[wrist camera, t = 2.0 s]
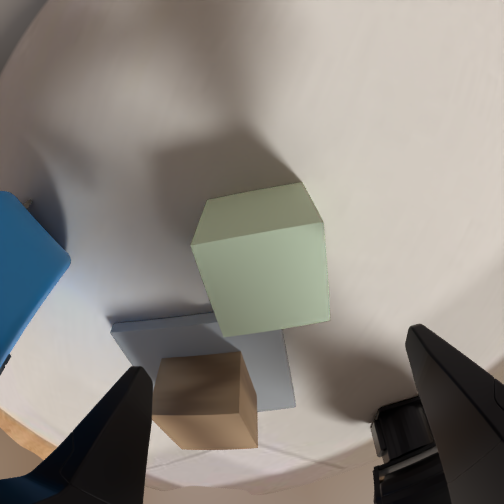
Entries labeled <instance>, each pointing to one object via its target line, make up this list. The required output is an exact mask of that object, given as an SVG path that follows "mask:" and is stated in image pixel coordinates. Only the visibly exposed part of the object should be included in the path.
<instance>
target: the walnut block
mask: <svg viewBox="0 0 504 504" xmlns="http://www.w3.org/2000/svg"><path fill="white" fill-rule="evenodd" d="M152 420H153V421H154V422H155V423H156V424H157V425H158V426H159V427H160V428H161V429H162V430H163V431H164V432H165V433H166V434H167V435H168V436H169V437H170V438H171V439H172V440H173V441H174V442H175V443H176V444H177V445H178V446H179V447H180V448H181V449H187V450H228V449H249V448H258V429H257V394H256V391H255V389H254V386H253V383H252V381H251V378H250V375H249V372H248V370H247V367H246V364H245V361H244V359H243V356H242V353H241V351H237V352H228V353H219V354H209V355H198V356H186V357H171V358H162V359H161V362H160V366H159V370H158V374H157V378H156V382H155V386H154V390H153V402H152Z"/></svg>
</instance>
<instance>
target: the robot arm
mask: <svg viewBox="0 0 504 504" xmlns="http://www.w3.org/2000/svg"><path fill="white" fill-rule="evenodd" d="M405 347H406V351H407V355H408V358H409V362H410V366H411V369H412V373H413V377H414V381H415V384H416V388H417V391H418V394H419V397H416V398H413V399H410V400H406V401H403V402H400V403H397V404H393V405H390V406H386V407H383V408H380V409H379V410H378V413H377V416H376V419H375V421H374V422H373V425H372V428H371V432H372V436H373V440H374V444H375V449H376V453H377V456H378V457H382V458H383V461H384V464H382V465H380V466H375V467H374V470H373V476H374V504H504V384H502V383H501V382H500V381H498V380H497V379H494V377H493V376H492V375H490V374H489V373H488V372H486V371H485V370H484V369H482V368H481V367H480V366H479V365H477V364H476V363H475V362H473V361H472V360H471V359H469V358H468V357H467V356H465V355H464V354H462V353H461V352H460V351H458V350H457V349H456V348H454V347H453V346H452V345H450V344H449V343H447V342H446V341H445V340H443V339H442V338H441V337H439V336H438V335H436V334H435V333H434V332H432V331H431V330H429V329H428V328H427V327H425V326H424V325H422V324H416V325H412V326H410V327H409V329H408V334H407V338H406V343H405ZM152 402H153V381H152V379H151V377H150V376H149V375H148V373H147V372H146V370H145V369H144V368H143V367H142V366H131V367H130V368H129V369H128V370H127V371H126V372H125V373H124V375H123V376H122V377H121V378H120V379H119V380H118V381H117V382H116V383H115V384H114V386H113V387H112V388H111V389H110V390H109V391H108V392H107V393H106V394H105V396H104V397H103V398H102V399H101V400H100V401H99V402H98V403H97V404H96V406H95V407H94V408H93V409H92V410H91V411H90V412H89V413H88V414H87V416H86V417H85V418H84V419H83V420H82V421H81V422H80V423H79V424H78V426H77V427H76V428H75V429H74V430H73V432H71V433H70V435H69V436H68V437H67V438H66V439H65V440H64V441H63V442H62V443H61V444H60V445H59V446H58V447H57V448H56V449H55V450H54V451H53V452H52V453H51V454H50V455H49V456H48V457H47V458H46V459H45V460H44V461H43V462H42V463H40V464H39V465H38V466H37V467H36V468H35V469H34V470H33V471H31V472H30V473H28V474H26V475H24V476H21V477H14V478H8V479H1V480H0V504H143V496H144V484H145V474H146V465H147V456H148V447H149V440H150V432H151V424H152Z"/></svg>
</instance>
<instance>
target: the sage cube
mask: <svg viewBox="0 0 504 504" xmlns="http://www.w3.org/2000/svg"><path fill="white" fill-rule="evenodd" d="M191 249H192V252H193V255H194V258H195V260H196V263H197V266H198V269H199V272H200V275H201V278H202V280H203V283H204V286H205V289H206V292H207V294H208V297H209V300H210V303H211V305H212V308H213V311H214V313H215V316H216V319H217V321H218V324H219V327H220V329H221V332H222V334H223V337H231V336H238V335H246V334H253V333H260V332H267V331H273V330H280V329H286V328H292V327H298V326H303V325H309V324H315V323H320V322H325V321H330V305H329V286H328V271H327V257H326V245H325V234H324V223H323V220H322V218H321V216H320V214H319V212H318V210H317V209H316V207H315V205H314V203H313V201H312V199H311V197H310V195H309V194H308V192H307V190H306V188H305V186H304V184H303V183H302V182H300V183H294V184H288V185H282V186H276V187H271V188H265V189H260V190H254V191H249V192H244V193H239V194H234V195H229V196H224V197H219V198H214V199H209V200H207V202H206V205H205V207H204V210H203V213H202V215H201V218H200V221H199V223H198V226H197V229H196V232H195V234H194V237H193V240H192V243H191Z"/></svg>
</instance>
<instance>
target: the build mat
mask: <svg viewBox="0 0 504 504" xmlns="http://www.w3.org/2000/svg"><path fill="white" fill-rule="evenodd" d="M110 333H111V335H112V336H113V338H114V339H115V341H116V342H117V344H118V345H119V347H120V348H121V350H122V351H123V353H124V354H125V356H126V357H127V359H128V360H129V361H130V363H131V364H132V366H142V367H143V368H144V369H145V370H146V372H147V373H148V375H149V376H150V377H151V379H152V381H153V390H154V386H155V382H156V378H157V374H158V370H159V366H160V362H161V359H162V358H171V357H186V356H198V355H209V354H219V353H228V352H237V351H241V353H242V356H243V359H244V361H245V364H246V367H247V370H248V372H249V375H250V378H251V381H252V383H253V386H254V389H255V391H256V394H257V412H262V411H271V410H279V409H286V408H294V407H296V403H295V396H294V390H293V385H292V379H291V374H290V368H289V363H288V358H287V352H286V347H285V342H284V337H283V331H282V329H280V330H273V331H267V332H260V333H253V334H246V335H238V336H231V337H223V334H222V332H221V329H220V327H219V324H218V321H217V319H216V316H215V313H214V312H212V313H205V314H197V315H189V316H181V317H172V318H163V319H154V320H144V321H134V322H123V323H114V325H113V327H112V330H111V332H110Z"/></svg>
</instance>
